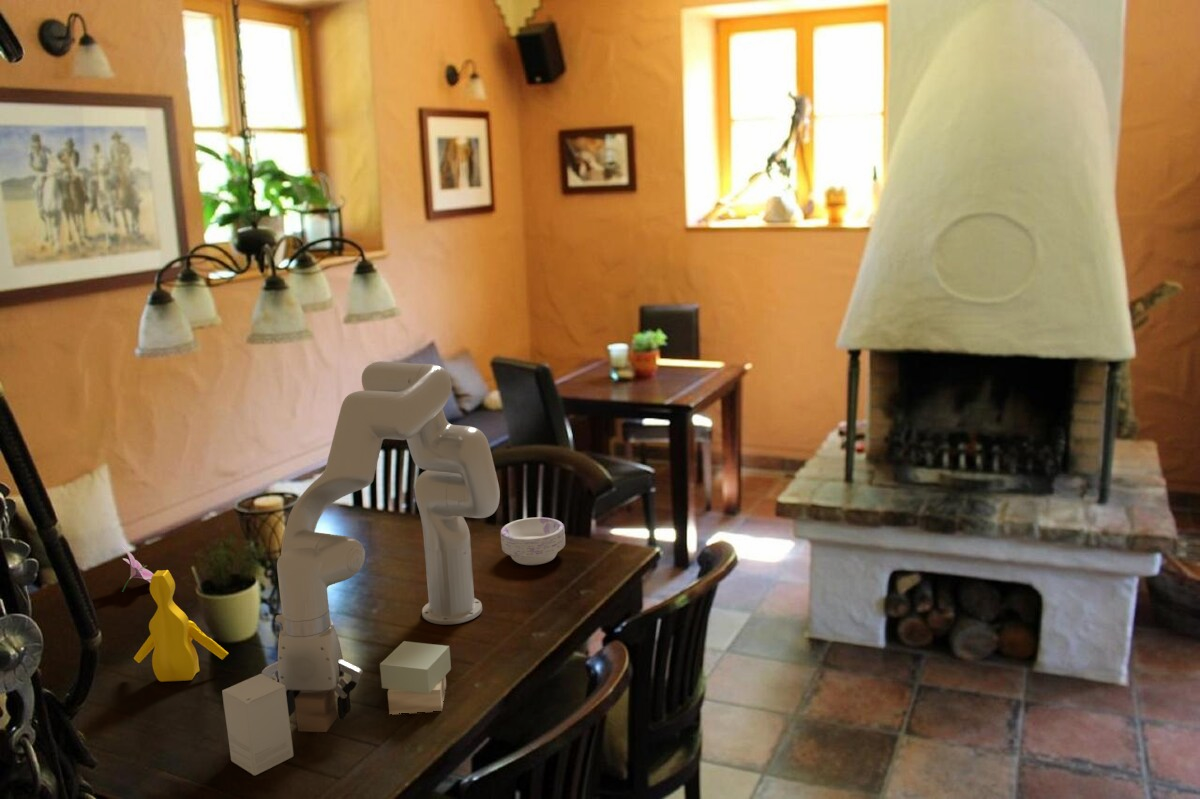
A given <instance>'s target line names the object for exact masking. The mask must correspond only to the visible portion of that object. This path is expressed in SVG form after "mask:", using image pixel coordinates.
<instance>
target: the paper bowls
mask: <svg viewBox="0 0 1200 799" xmlns="http://www.w3.org/2000/svg"><path fill="white" fill-rule="evenodd" d="M565 529H566V528H565V524H564V523H562V521H560V520H558V519H554V518H550V517H539V516H537V517H527V518H522V519H517V520H513V521H511V522H509V523H507V524H505V525H504V526H502V528H501V529H500V543H501V550H502V552H503V553H505V554H506V555H508V556H510V557H511V559H512V561H514V562H516V563H517V564H520V565H525V566H538V565H544V564H547V563H550V562H551V561H553V560H554V559H555V558H556V557H557V555H558V552H560V551H561V550H562V549H564V547H565V546H566V534H565V531H566V530H565Z"/></svg>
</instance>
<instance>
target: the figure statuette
mask: <svg viewBox="0 0 1200 799" xmlns="http://www.w3.org/2000/svg"><path fill="white" fill-rule="evenodd" d="M153 574H154V575H153V576H152V578H151V579H150V580H151V583H150V582H149V592H150V595H151V596H152V598H153V601H155V603H156V605H157V609H156V611H155V613H154V615H153V616H152V618H151V619H150V621H149V623H148V630H149V632H150V635H149V636H148V637H147V639H146V640H145V642H143V644H142V645H141V647H140V649H139V650H138V652H136V654H135V655H134V657H133V659H134V660H133V661H136V662H137V663H138V664H139V663H141V662H142V661H143V660H144V659H145V658H147V656H148V654H149V653H150V652H151V651H152V650H153V653H152V658H151V659H152V660H151V663H152V664H151V665H152V669H153V670H152V671H153V672H154V675H155V678H156V679H157V680H158V681H159V682H161V683H162V682H182V681H184V682H185V681H192V680H193V679H194V677H195V676H196V674H197V673H199V672H200V666H199V656H198V653H197V649H196V647H195V646H194V644H193V642H192V641H193V640H194V641H196V643H198V644H200V645H201V646H203V648H205V649H207V650H208V651H209V652H210V653H212V654H214V655H215V656H217V657H218V658H219V659H221V660H224V659H225V658H226V657H227V656H228V655H229V652H228V651H227V650H225V649H224V648H223V647H222V646H221V645H219V644H218V643H217V642H216V641H215V640H213V639H212V638H211V637H209V636H207V635H206V634H205V633H204V632H203V631H202V630H201V629H200V627H199V626H197V624H196V623H195V622H194V621H192V620H189V617H188V616H187V614H186V613H185V612H184V611H183V610H182V609H181V608H180V606H178V605H177V604H176V603H175V602H174V600H173V596H174V594H175V590H176V582H175V579H174V578H173V576H172V574H171V573H170V571H169V570H168V569H166V570H164V569H163V570H161V569H160V570H156V571H155V572H154V573H153Z"/></svg>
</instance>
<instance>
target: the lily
mask: <svg viewBox="0 0 1200 799" xmlns="http://www.w3.org/2000/svg"><path fill="white" fill-rule="evenodd" d="M121 547H122V548H123V550H124V551H125V553H126V554H127V556H128V558H129V559H127V558H123V557H122V560H123V561H125V562H126V563H127V564H129V565H130V577H129V579H128V580H127V581H126V583H125V584H124V587H123V588H122V591H121V592H123V593H124V591H125V590H126V587H127V585H128V583H129V582H130V580H131V579H143V580H146V581H147V582H148V583H149V584H150V583H151V578H152V576H153V575H154V574H155V573H153V572H152V571H150V570H149V569H147V568H146V567H148V565H145V564H141V563H140V562H139V561H138V560H137V559H135V556H134V555H133V554H132V553H131V551H129V550H128V549H127V548H125V547H124V546H122V545H121Z"/></svg>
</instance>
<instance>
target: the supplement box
mask: <svg viewBox="0 0 1200 799" xmlns="http://www.w3.org/2000/svg"><path fill="white" fill-rule="evenodd" d="M222 701H223V702H222V703H223V709H224V710H223V711H224V715H225V723H226V730H227V738H228V746H229V753H230V754H229V755H230V760H231V762H232V763H234V764H235V765H237V766H238V767H240V768H241V769H243V770H244V771H247V773H249V774H251V775H252V776H257V775H260V774H261V773H263V772H265V771H268V770H270V769H271V768H273V767H276V766H278V765H279V764H281V763H283V762H286V761H287V760H290V759H291V758H293V757H294V747H293V739H292V732H291V724H290V723H291V722H290V717H289V713H288V705H287V696H286V688H285V685H283V684H281V683H279V682H277V681H275V680H273V679H271V678H269V677H267V676H266V675H264V674H262V673H259V674H257V675H254V676H252V677H250V678H247V679H245V680H243V681H241V682H238V683H236V684H234V685H231V686H230V687H227V688H225V689H222Z"/></svg>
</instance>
